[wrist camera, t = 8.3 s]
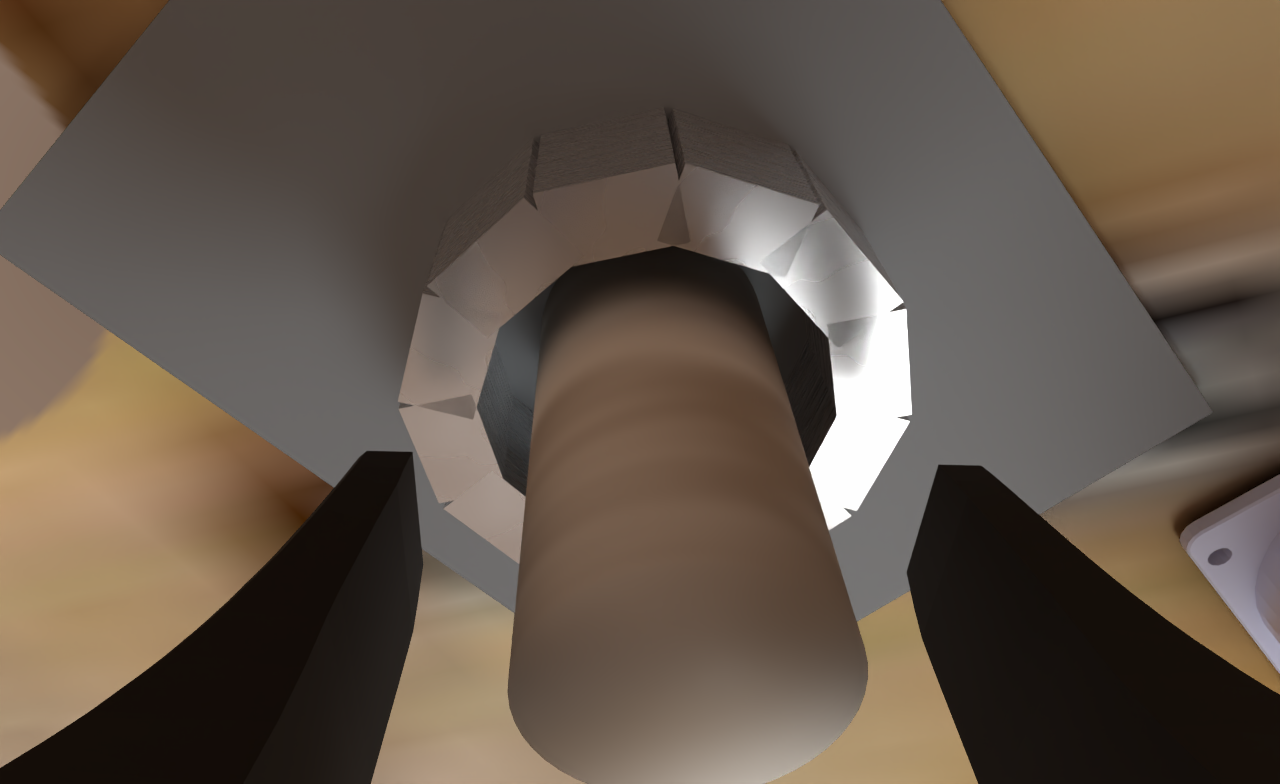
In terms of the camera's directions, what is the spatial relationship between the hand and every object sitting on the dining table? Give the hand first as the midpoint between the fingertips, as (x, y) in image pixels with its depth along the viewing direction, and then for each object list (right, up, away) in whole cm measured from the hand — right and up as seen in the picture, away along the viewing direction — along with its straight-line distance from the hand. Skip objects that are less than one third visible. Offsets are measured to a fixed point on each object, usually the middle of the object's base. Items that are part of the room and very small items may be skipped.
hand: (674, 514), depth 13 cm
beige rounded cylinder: (0, +3, +4) cm, 5 cm away
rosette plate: (0, +3, +5) cm, 6 cm away
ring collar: (0, +3, +5) cm, 6 cm away
